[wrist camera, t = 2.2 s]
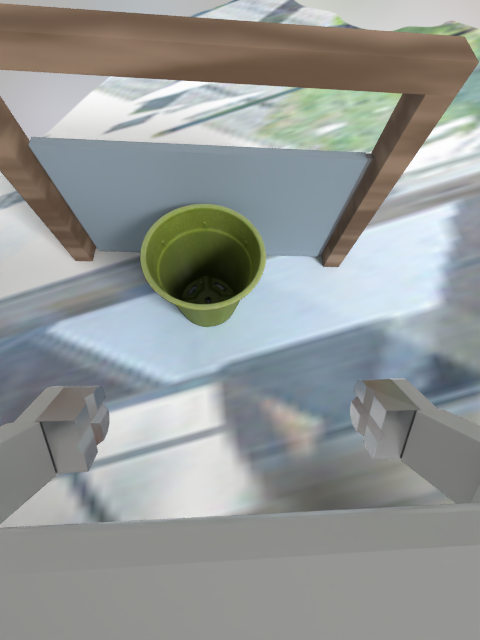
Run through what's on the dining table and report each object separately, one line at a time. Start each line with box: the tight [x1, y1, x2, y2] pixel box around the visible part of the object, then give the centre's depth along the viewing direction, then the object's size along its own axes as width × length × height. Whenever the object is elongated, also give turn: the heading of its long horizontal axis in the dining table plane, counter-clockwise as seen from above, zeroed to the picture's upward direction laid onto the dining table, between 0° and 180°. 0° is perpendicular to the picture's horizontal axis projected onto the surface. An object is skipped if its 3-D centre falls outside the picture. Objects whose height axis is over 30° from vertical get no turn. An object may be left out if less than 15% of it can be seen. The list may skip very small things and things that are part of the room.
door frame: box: [0, 4, 479, 267], centre depth 29 cm, size 3×36×24 cm, turn 91°
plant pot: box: [140, 204, 266, 327], centre depth 32 cm, size 12×12×11 cm
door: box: [29, 137, 374, 256], centre depth 33 cm, size 3×30×15 cm, turn 91°
